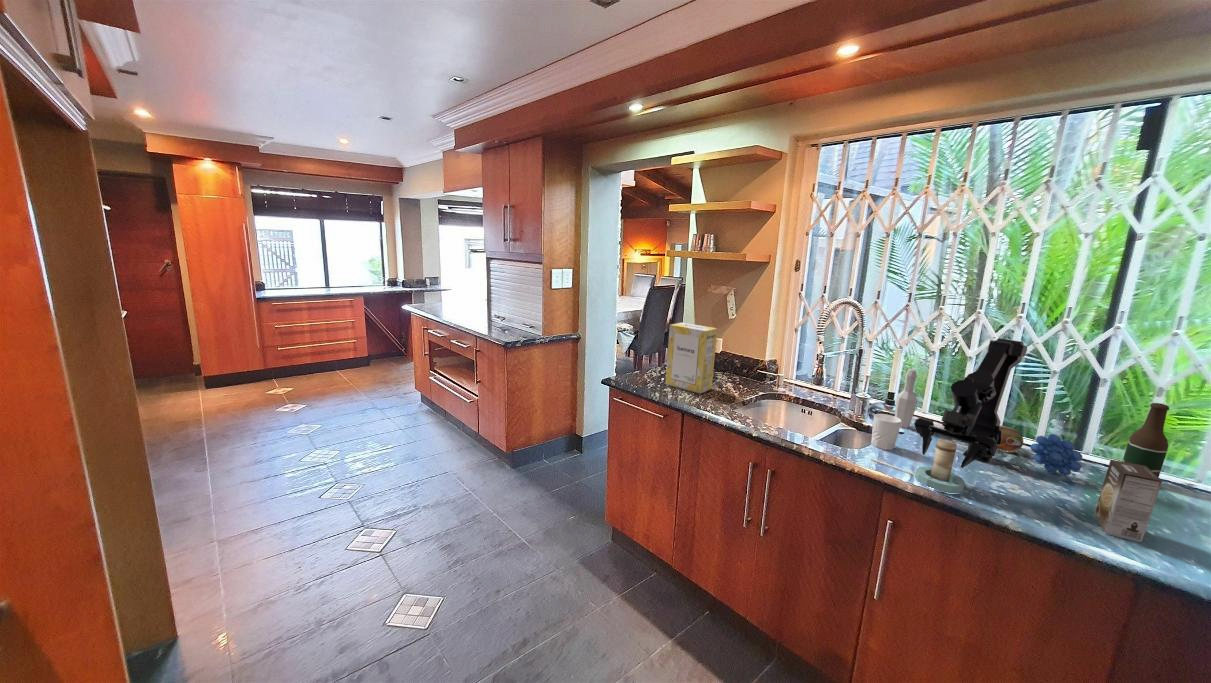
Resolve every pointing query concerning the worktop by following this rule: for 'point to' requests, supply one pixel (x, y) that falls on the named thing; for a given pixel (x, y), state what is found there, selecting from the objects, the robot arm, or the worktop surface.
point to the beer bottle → (1149, 441)
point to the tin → (1010, 440)
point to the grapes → (1056, 454)
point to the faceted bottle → (906, 400)
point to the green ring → (952, 486)
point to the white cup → (885, 431)
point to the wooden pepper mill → (943, 460)
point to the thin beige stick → (892, 466)
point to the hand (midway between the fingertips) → (941, 460)
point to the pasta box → (691, 357)
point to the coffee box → (1127, 500)
